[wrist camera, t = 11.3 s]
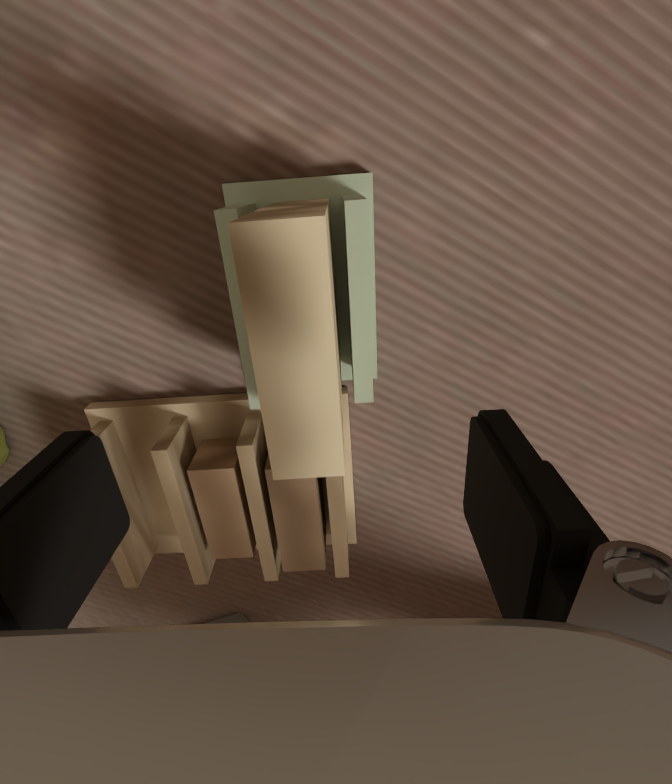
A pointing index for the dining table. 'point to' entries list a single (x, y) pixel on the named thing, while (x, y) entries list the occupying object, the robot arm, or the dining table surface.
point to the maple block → (293, 333)
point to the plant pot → (3, 447)
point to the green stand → (349, 260)
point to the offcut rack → (173, 489)
